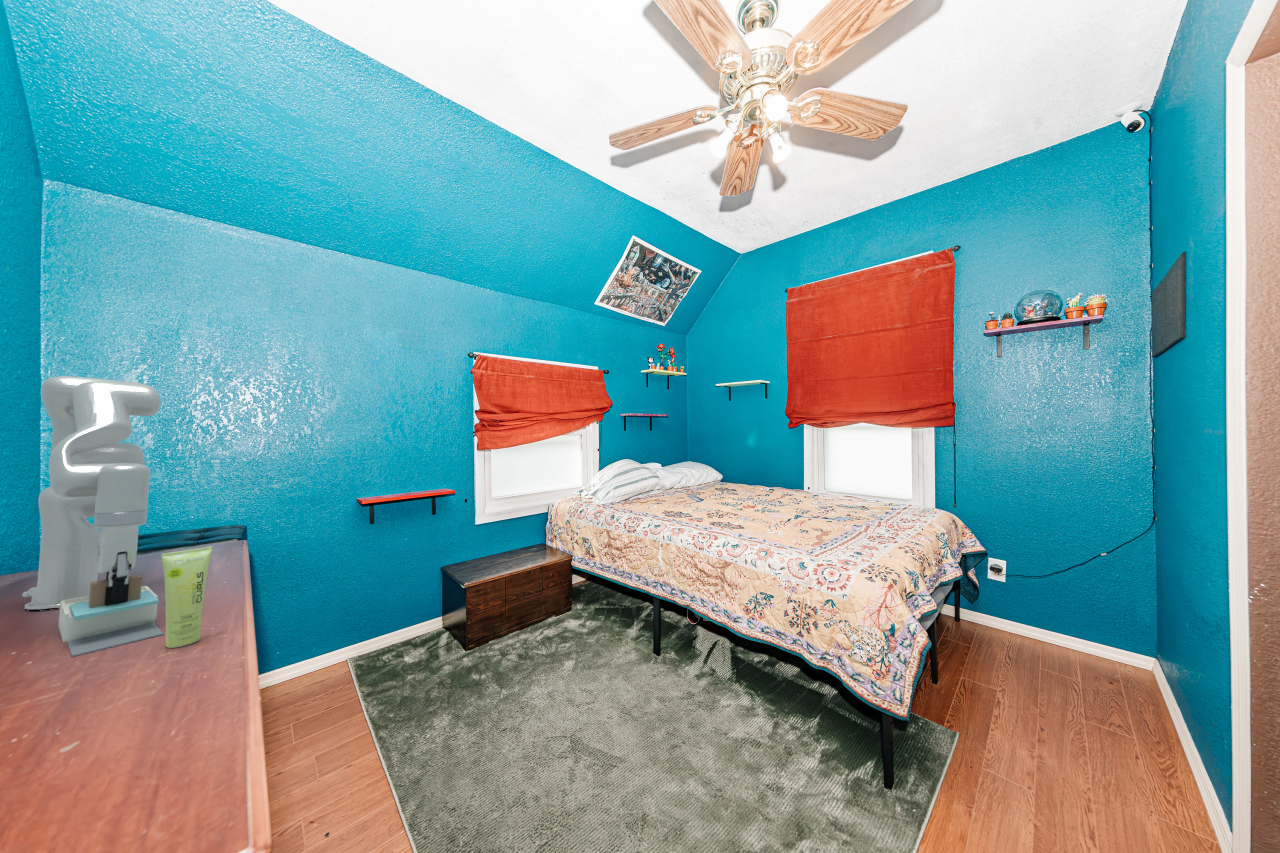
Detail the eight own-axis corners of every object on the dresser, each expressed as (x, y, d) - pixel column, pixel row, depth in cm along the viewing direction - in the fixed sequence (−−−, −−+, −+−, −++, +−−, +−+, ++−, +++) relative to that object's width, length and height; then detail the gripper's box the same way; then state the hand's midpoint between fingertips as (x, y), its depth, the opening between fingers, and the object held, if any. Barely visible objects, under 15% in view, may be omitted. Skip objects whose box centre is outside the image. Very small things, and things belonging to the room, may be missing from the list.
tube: (182, 649, 86) (189, 552, 87) (154, 650, 85) (161, 553, 86) (207, 637, 91) (212, 546, 92) (180, 638, 90) (186, 546, 92)
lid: (69, 608, 92) (71, 581, 93) (148, 593, 102) (150, 569, 102) (74, 620, 86) (76, 591, 86) (158, 603, 95) (160, 577, 96)
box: (58, 626, 96) (60, 600, 96) (145, 608, 107) (146, 585, 107) (62, 642, 88) (65, 614, 89) (156, 621, 99) (157, 596, 99)
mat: (67, 642, 88) (67, 641, 88) (153, 623, 98) (153, 622, 98) (71, 657, 82) (71, 655, 82) (163, 634, 92) (163, 633, 92)
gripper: (89, 518, 96) (83, 599, 95) (98, 525, 87) (91, 615, 86) (140, 514, 103) (134, 590, 101) (153, 520, 94) (147, 604, 93)
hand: (114, 601), depth 94 cm, fingers closed on lid, 3 cm apart
